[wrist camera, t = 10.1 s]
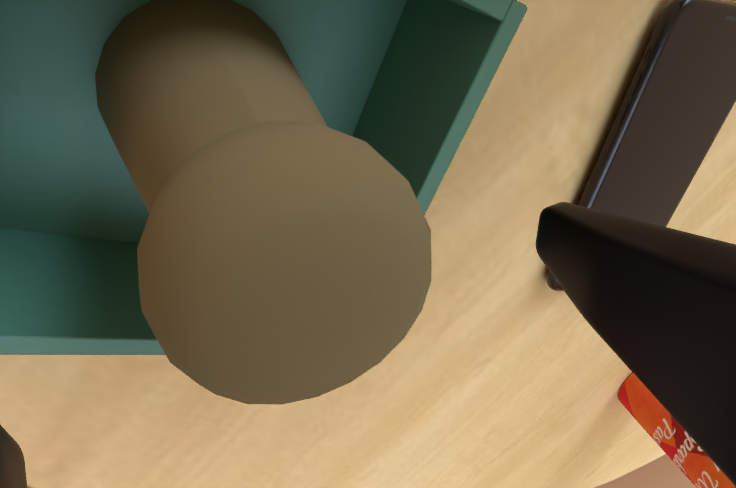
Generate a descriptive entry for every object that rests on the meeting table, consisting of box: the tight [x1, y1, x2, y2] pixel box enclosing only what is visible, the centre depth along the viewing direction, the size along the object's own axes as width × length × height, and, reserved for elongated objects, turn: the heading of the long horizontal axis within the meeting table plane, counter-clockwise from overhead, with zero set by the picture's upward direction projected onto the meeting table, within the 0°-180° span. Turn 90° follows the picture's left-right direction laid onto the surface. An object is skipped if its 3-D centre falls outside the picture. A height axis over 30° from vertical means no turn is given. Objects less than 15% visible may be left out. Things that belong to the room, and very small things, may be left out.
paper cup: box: [618, 373, 736, 488], centre depth 40 cm, size 8×8×14 cm
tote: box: [0, 0, 527, 355], centre depth 15 cm, size 12×12×6 cm
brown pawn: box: [95, 0, 431, 404], centre depth 12 cm, size 6×6×11 cm
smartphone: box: [547, 0, 736, 291], centre depth 28 cm, size 8×1×16 cm
